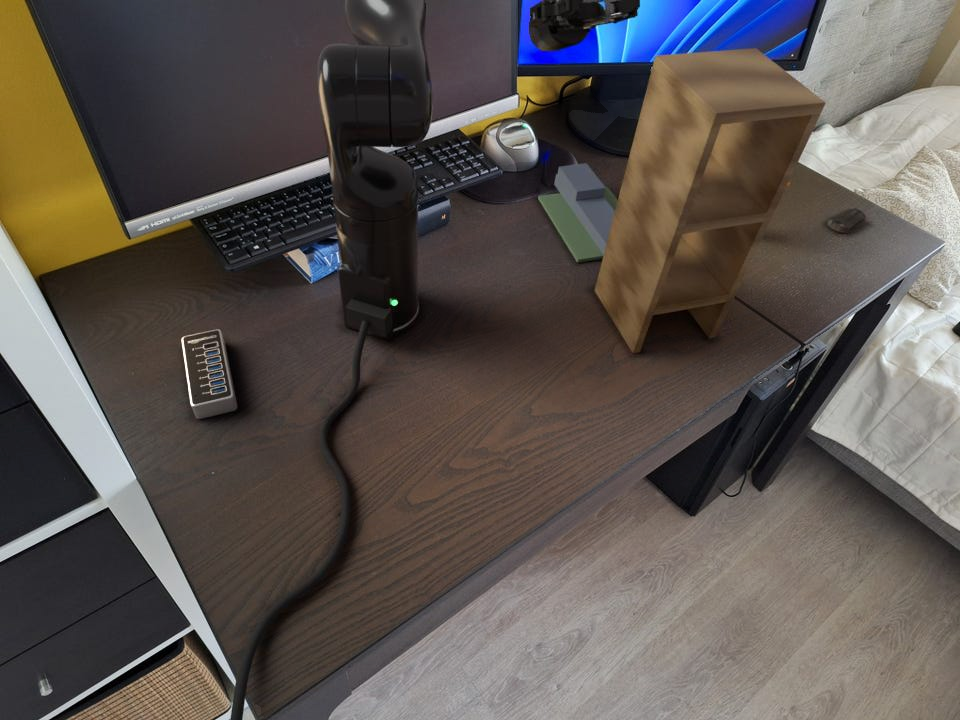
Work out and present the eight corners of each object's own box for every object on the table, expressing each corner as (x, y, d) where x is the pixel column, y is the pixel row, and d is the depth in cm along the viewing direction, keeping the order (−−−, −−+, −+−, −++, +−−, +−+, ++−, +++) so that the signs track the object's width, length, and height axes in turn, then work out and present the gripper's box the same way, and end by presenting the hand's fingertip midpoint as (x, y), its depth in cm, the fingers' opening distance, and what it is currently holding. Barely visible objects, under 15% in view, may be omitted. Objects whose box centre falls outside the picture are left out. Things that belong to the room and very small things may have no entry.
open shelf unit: (715, 337, 87) (826, 102, 63) (632, 353, 84) (716, 113, 60) (671, 277, 94) (756, 47, 71) (594, 290, 91) (655, 55, 68)
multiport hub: (196, 420, 73) (190, 407, 71) (185, 349, 79) (180, 336, 78) (238, 409, 74) (233, 396, 72) (224, 341, 81) (220, 328, 79)
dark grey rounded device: (863, 223, 107) (869, 214, 105) (844, 237, 104) (849, 227, 102) (843, 212, 108) (848, 203, 107) (823, 225, 106) (828, 215, 104)
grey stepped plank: (642, 262, 95) (649, 237, 92) (612, 267, 94) (618, 242, 91) (581, 180, 108) (586, 156, 105) (554, 184, 107) (558, 160, 104)
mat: (652, 251, 98) (653, 248, 98) (577, 262, 95) (578, 259, 95) (607, 190, 108) (607, 186, 108) (538, 198, 105) (538, 195, 105)
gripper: (512, -4, 98) (554, -30, 84) (600, -8, 102) (656, -33, 87) (515, 52, 101) (557, 36, 86) (601, 46, 104) (656, 30, 89)
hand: (607, 1), depth 87 cm, fingers open, 8 cm apart
